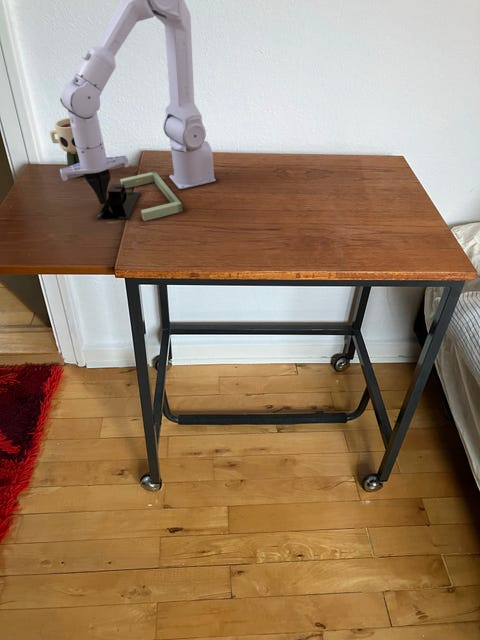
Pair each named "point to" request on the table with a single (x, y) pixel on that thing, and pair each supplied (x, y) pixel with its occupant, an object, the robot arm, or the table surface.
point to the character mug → (66, 140)
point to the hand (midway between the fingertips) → (102, 202)
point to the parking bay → (166, 208)
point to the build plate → (119, 203)
